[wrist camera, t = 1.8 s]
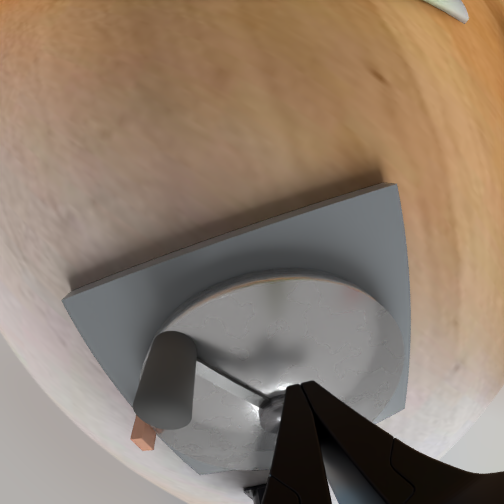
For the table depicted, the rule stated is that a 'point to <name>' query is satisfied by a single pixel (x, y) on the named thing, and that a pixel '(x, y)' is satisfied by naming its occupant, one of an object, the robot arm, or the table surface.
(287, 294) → the dial
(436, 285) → the table surface
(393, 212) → the stand
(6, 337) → the table surface
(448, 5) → the leek
